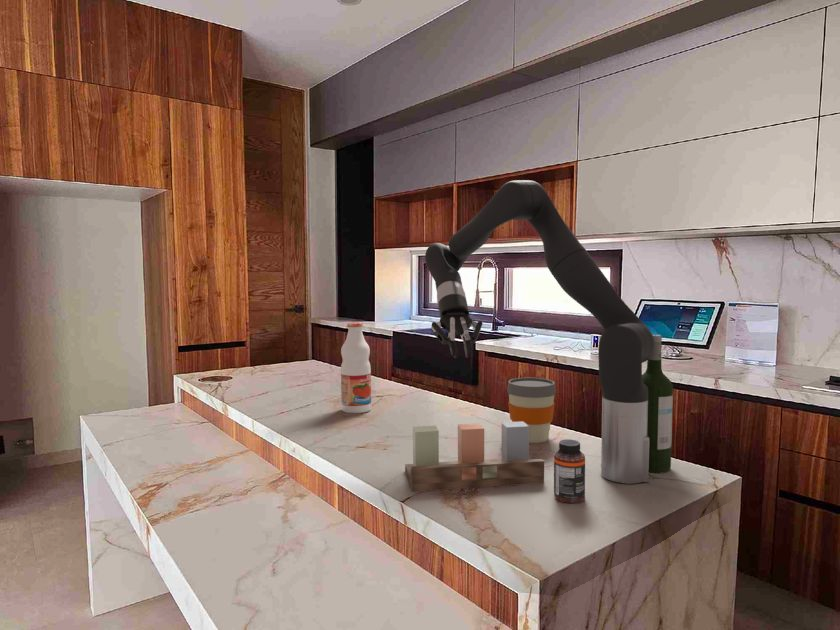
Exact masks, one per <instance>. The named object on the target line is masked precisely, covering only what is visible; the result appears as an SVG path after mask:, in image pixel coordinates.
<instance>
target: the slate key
mask: <svg viewBox="0 0 840 630" xmlns="http://www.w3.org/2000/svg"><path fill="white" fill-rule="evenodd" d="M529 451H530V443H529V426H528V425H527V424H526V423H524V422H523V421H521V422H512V421H505V422H504V421H503V422H501V453H500V454H501V457H500V459H501V461H515V460H530V452H529Z"/></svg>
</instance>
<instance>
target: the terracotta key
mask: <svg viewBox="0 0 840 630" xmlns="http://www.w3.org/2000/svg"><path fill="white" fill-rule="evenodd" d="M484 460H485V428H484V426H482V424H481V423H464V424H463V423H462V424H457V461H458V464H464V463H481V462H484Z"/></svg>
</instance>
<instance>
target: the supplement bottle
mask: <svg viewBox="0 0 840 630" xmlns="http://www.w3.org/2000/svg"><path fill="white" fill-rule="evenodd" d="M558 442H559V443H558V450H557V451H555V453H554V454H553V495H554V498H555V499H556V500H558V501H559V502H562V503H567V504H577V503H581V502H583V501H584V500H585V498H586V496H585V495H586V455H585V454H584V453H583V452H582V451H581V442H580V441H578V440H576V439H567V438H565V439H561V440H559V441H558Z"/></svg>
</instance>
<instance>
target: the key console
mask: <svg viewBox="0 0 840 630" xmlns="http://www.w3.org/2000/svg"><path fill="white" fill-rule="evenodd" d="M404 470H405V473H406V477H407V481H408V483H409V486H410V489H411V492H423V491H424V492H425V491H439V490H440V491H441V490H457V489H471V488H483V487H484V488H485V487H486V488H487V487H499V486H501V487H502V486H515V485H518V486H519V485H529V484H530V485H532V484H544V483H545V460H544V459H543V458H536V459H533V458H532V459H529V460H515V461H501V458H491V459H487V458H486V459H484V462H481V463H464V464H458V460H455V461H439V465H430V466H413V463H406V464H404Z"/></svg>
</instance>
